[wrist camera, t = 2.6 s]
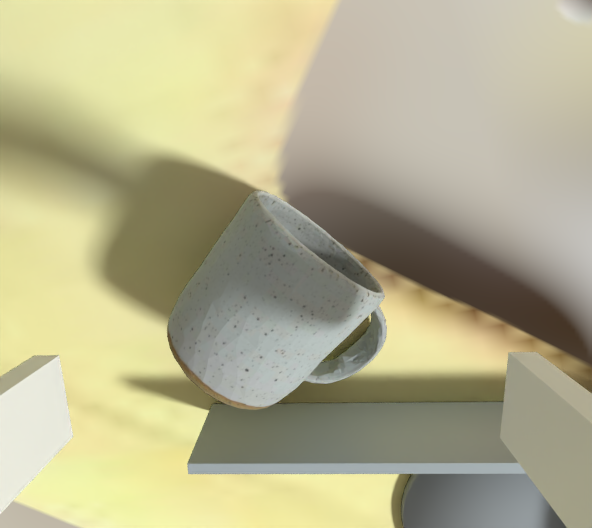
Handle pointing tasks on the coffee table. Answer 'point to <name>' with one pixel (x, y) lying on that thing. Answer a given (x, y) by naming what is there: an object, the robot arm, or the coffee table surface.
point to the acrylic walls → (354, 439)
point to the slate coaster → (475, 502)
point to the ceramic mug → (273, 308)
